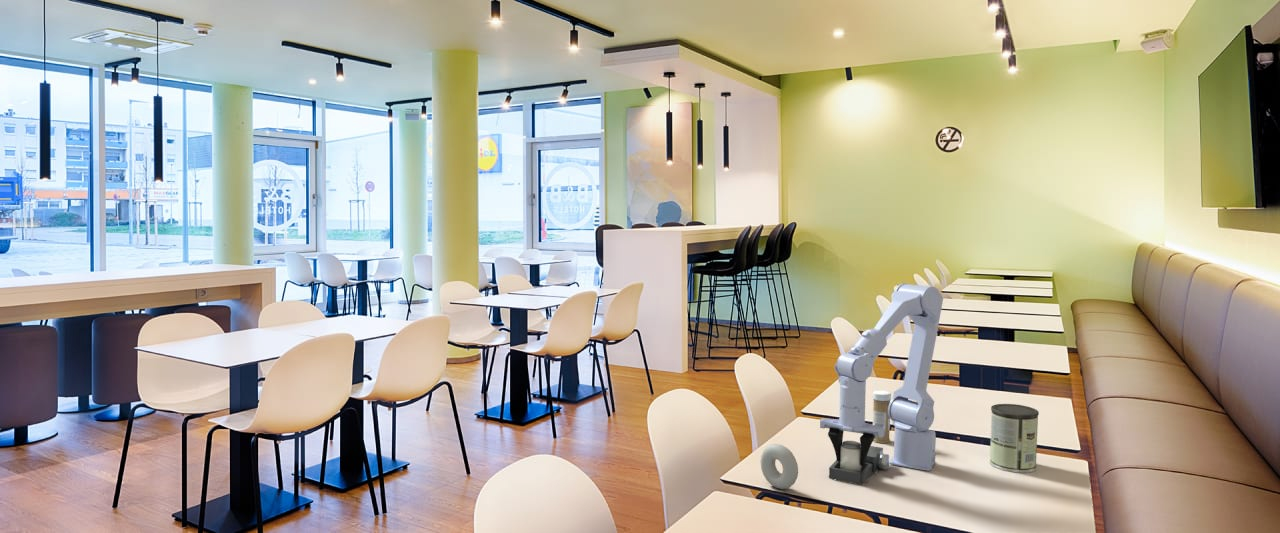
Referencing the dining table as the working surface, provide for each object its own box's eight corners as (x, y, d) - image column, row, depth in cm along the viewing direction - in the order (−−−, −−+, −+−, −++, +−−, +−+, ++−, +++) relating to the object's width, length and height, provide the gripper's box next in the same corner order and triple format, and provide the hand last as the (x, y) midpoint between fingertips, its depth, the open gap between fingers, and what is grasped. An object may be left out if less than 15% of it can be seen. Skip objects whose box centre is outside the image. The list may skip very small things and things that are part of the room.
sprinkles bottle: (893, 441, 198) (894, 392, 197) (882, 444, 196) (883, 395, 195) (879, 437, 202) (880, 389, 201) (868, 440, 199) (869, 391, 198)
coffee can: (996, 455, 187) (999, 401, 186) (1041, 465, 180) (1044, 408, 179) (982, 466, 180) (985, 409, 179) (1029, 476, 173) (1031, 417, 172)
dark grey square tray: (873, 472, 175) (873, 462, 175) (863, 485, 167) (864, 474, 167) (839, 466, 179) (839, 456, 179) (828, 478, 171) (828, 468, 171)
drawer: (891, 465, 180) (891, 445, 180) (883, 475, 173) (884, 454, 173) (845, 457, 186) (846, 438, 185) (836, 467, 179) (837, 446, 178)
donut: (756, 483, 168) (757, 440, 168) (767, 479, 170) (767, 437, 170) (790, 496, 161) (791, 451, 160) (801, 493, 163) (802, 448, 162)
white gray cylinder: (863, 470, 173) (864, 442, 173) (858, 476, 169) (858, 448, 169) (843, 466, 176) (844, 438, 175) (837, 472, 172) (838, 444, 171)
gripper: (816, 404, 172) (815, 461, 173) (880, 413, 164) (878, 473, 165) (825, 398, 178) (824, 453, 179) (887, 406, 170) (885, 463, 171)
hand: (851, 462), depth 172 cm, fingers closed on white gray cylinder, 5 cm apart
